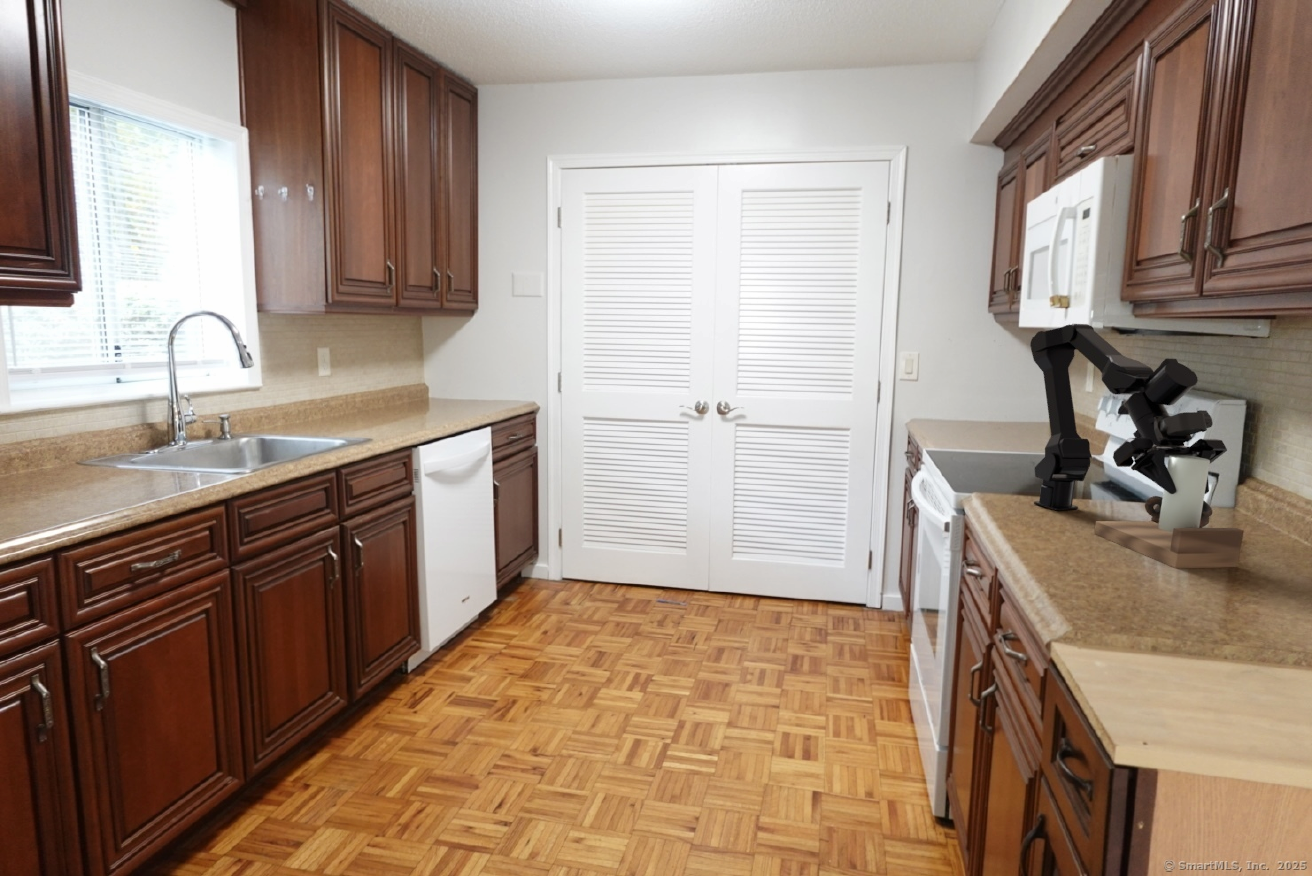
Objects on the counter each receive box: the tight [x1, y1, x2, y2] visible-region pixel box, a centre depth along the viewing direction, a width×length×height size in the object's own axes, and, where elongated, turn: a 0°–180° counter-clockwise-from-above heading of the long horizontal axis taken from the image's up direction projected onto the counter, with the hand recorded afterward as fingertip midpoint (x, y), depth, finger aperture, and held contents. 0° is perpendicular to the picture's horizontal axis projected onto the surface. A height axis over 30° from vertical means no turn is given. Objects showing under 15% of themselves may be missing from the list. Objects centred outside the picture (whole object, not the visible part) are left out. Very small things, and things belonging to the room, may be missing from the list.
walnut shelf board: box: [1093, 520, 1245, 569], centre depth 144 cm, size 20×12×6 cm, turn 8°
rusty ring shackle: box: [1144, 495, 1213, 528], centre depth 162 cm, size 12×10×8 cm
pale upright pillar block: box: [1158, 455, 1211, 533], centre depth 140 cm, size 6×6×13 cm
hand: (1190, 492), depth 139 cm, fingers closed on pale upright pillar block, 6 cm apart
